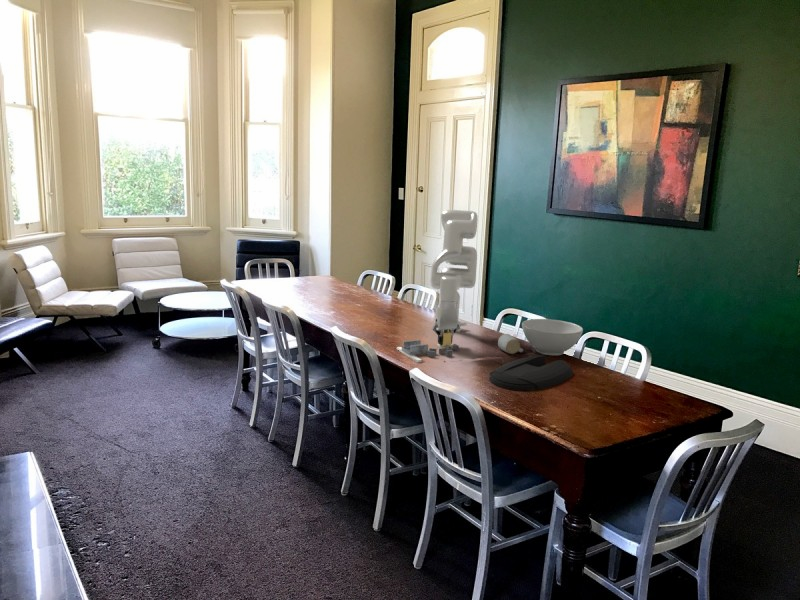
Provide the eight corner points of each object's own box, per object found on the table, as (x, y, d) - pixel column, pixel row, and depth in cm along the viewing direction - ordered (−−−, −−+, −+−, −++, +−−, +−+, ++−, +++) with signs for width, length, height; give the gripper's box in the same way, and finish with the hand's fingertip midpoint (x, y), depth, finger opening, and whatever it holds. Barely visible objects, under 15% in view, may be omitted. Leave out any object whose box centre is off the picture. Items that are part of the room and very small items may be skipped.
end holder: (419, 348, 269) (419, 339, 269) (427, 353, 262) (428, 344, 262) (401, 350, 266) (402, 341, 265) (409, 355, 259) (410, 346, 258)
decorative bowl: (521, 341, 295) (523, 316, 292) (579, 347, 288) (582, 322, 286) (517, 356, 269) (519, 329, 267) (580, 363, 263) (583, 336, 260)
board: (445, 345, 281) (446, 337, 280) (469, 357, 264) (469, 349, 263) (396, 349, 270) (397, 341, 270) (417, 362, 253) (417, 354, 252)
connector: (446, 343, 279) (447, 326, 277) (450, 345, 275) (452, 328, 274) (438, 344, 277) (439, 326, 276) (443, 346, 274) (444, 329, 272)
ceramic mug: (505, 355, 269) (507, 338, 268) (496, 350, 277) (498, 333, 275) (526, 354, 273) (528, 337, 271) (517, 349, 280) (519, 333, 279)
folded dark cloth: (473, 380, 235) (474, 368, 234) (527, 360, 265) (528, 349, 264) (530, 398, 219) (532, 384, 218) (581, 374, 249) (582, 362, 248)
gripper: (459, 301, 279) (456, 340, 283) (426, 303, 272) (424, 343, 276) (467, 304, 273) (465, 344, 277) (434, 307, 266) (432, 347, 269)
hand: (444, 343), depth 276 cm, fingers closed on connector, 4 cm apart
